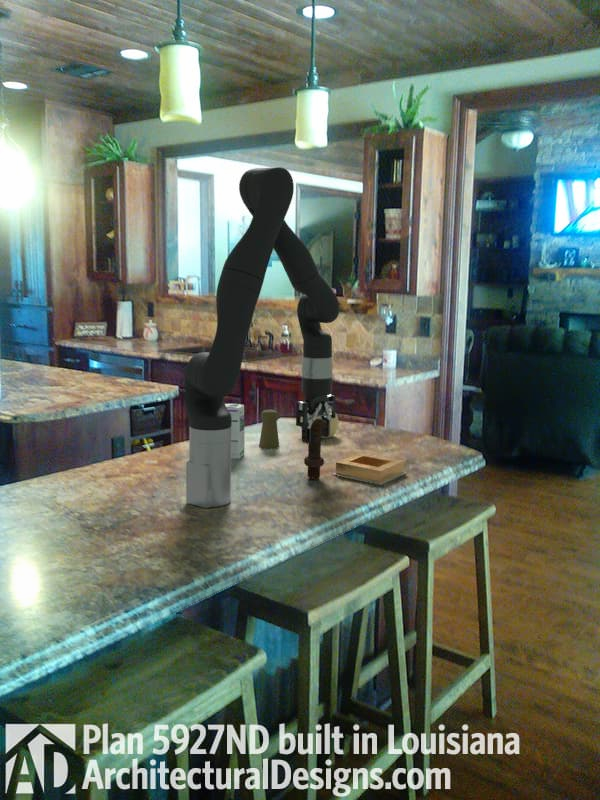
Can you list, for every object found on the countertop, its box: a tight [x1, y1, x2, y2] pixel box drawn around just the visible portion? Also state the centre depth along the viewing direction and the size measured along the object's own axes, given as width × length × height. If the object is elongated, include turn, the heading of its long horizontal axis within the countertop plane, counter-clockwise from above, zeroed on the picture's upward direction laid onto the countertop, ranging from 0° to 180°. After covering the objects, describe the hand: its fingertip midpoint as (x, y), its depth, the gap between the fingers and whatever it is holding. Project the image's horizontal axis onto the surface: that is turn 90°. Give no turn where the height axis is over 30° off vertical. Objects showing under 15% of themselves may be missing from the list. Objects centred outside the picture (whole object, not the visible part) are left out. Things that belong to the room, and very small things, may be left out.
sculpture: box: [300, 409, 340, 439], centre depth 228 cm, size 11×12×11 cm
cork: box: [258, 409, 280, 450], centre depth 213 cm, size 6×6×11 cm
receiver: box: [332, 452, 407, 486], centre depth 187 cm, size 14×14×3 cm
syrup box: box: [225, 403, 245, 460], centre depth 200 cm, size 6×6×14 cm
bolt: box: [303, 419, 327, 481], centre depth 180 cm, size 6×5×15 cm
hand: (315, 439), depth 180 cm, fingers open, 8 cm apart
